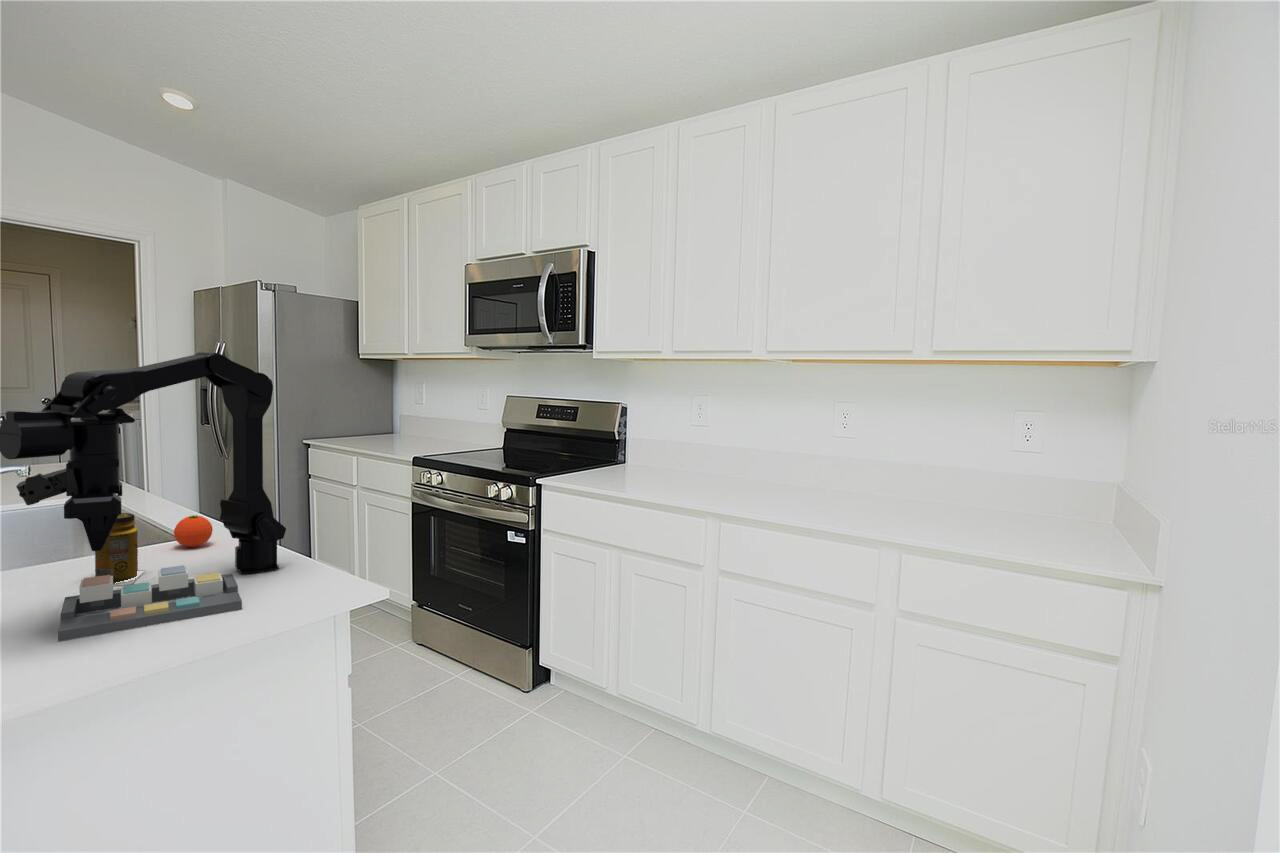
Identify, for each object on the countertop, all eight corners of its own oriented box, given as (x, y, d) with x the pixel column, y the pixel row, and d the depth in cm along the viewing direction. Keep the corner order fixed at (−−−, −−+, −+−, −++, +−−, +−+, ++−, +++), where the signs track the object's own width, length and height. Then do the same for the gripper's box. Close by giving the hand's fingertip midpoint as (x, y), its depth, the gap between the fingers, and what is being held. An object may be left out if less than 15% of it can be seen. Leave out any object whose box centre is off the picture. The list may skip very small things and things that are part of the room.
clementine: (173, 543, 135) (173, 512, 134) (211, 539, 139) (211, 509, 138) (174, 552, 128) (173, 520, 128) (213, 548, 133) (213, 516, 132)
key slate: (186, 586, 104) (186, 564, 104) (188, 594, 101) (188, 571, 101) (158, 590, 102) (158, 568, 102) (159, 599, 99) (159, 575, 98)
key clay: (113, 597, 98) (112, 573, 98) (112, 606, 95) (112, 581, 94) (81, 602, 96) (81, 578, 95) (79, 611, 92) (79, 586, 92)
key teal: (151, 604, 101) (150, 581, 101) (151, 612, 98) (151, 588, 98) (121, 608, 99) (121, 585, 99) (121, 617, 96) (120, 593, 95)
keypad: (232, 586, 111) (232, 573, 111) (241, 609, 101) (241, 594, 101) (65, 612, 97) (65, 597, 96) (57, 641, 87) (57, 624, 87)
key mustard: (220, 593, 108) (220, 571, 107) (222, 600, 104) (222, 578, 104) (193, 597, 105) (193, 575, 105) (195, 605, 102) (195, 582, 101)
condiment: (145, 570, 117) (145, 510, 116) (131, 585, 109) (130, 520, 109) (97, 574, 114) (96, 512, 113) (79, 589, 106) (78, 523, 105)
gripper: (29, 447, 95) (31, 543, 96) (11, 463, 81) (14, 575, 82) (121, 445, 102) (123, 534, 104) (120, 459, 88) (121, 563, 89)
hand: (96, 550), depth 95 cm, fingers closed
